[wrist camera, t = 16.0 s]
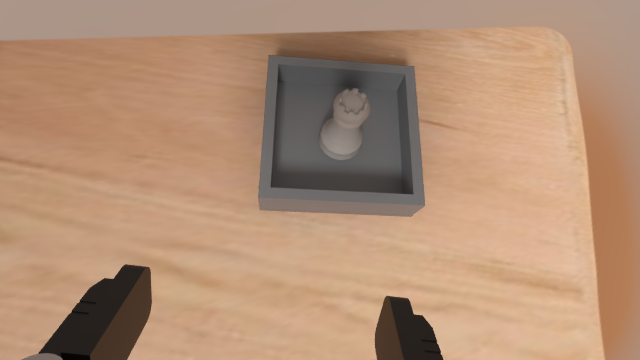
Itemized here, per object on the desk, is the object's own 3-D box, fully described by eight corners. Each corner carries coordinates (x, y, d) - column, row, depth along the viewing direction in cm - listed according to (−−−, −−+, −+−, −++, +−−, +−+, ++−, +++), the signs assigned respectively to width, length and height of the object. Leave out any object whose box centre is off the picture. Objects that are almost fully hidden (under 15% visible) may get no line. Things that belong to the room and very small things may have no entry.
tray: (260, 210, 38) (258, 197, 34) (269, 78, 43) (268, 55, 39) (411, 216, 39) (425, 205, 36) (402, 88, 44) (414, 66, 41)
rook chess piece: (352, 168, 39) (370, 132, 32) (311, 152, 40) (319, 112, 32) (366, 132, 41) (386, 89, 33) (327, 116, 41) (338, 70, 34)
